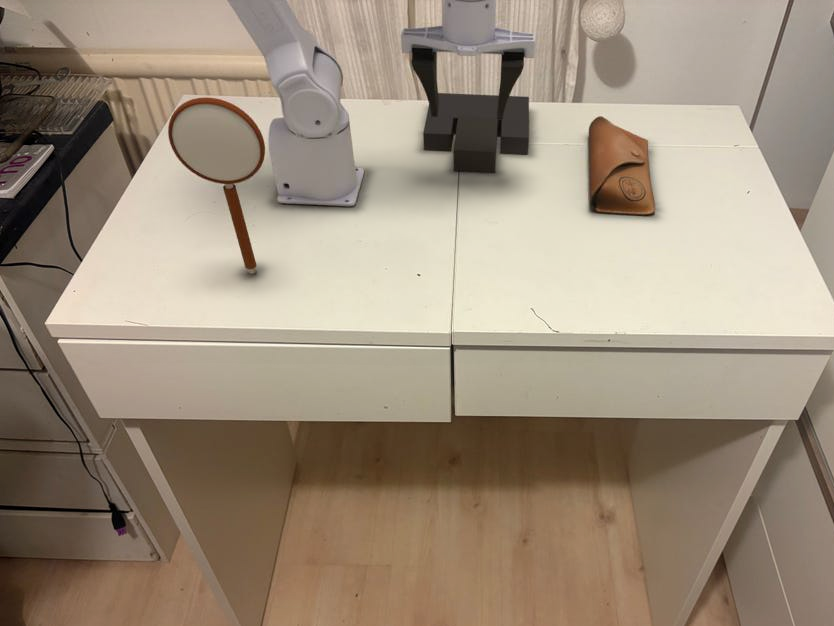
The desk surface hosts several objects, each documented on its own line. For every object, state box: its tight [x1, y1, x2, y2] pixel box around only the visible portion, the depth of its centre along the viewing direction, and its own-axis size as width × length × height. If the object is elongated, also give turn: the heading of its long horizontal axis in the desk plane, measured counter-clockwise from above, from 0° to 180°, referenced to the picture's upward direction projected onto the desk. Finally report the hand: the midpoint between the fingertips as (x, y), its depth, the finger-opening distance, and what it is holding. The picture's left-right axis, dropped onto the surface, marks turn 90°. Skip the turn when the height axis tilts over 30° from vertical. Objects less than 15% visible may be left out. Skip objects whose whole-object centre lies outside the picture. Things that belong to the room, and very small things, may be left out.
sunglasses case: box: [588, 115, 656, 216], centre depth 91 cm, size 18×7×7 cm
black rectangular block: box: [453, 116, 498, 173], centre depth 94 cm, size 5×9×3 cm, turn 177°
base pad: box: [422, 92, 530, 155], centre depth 99 cm, size 14×12×2 cm
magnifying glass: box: [167, 97, 266, 275], centre depth 70 cm, size 9×2×20 cm, turn 90°
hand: (467, 113), depth 84 cm, fingers open, 7 cm apart
